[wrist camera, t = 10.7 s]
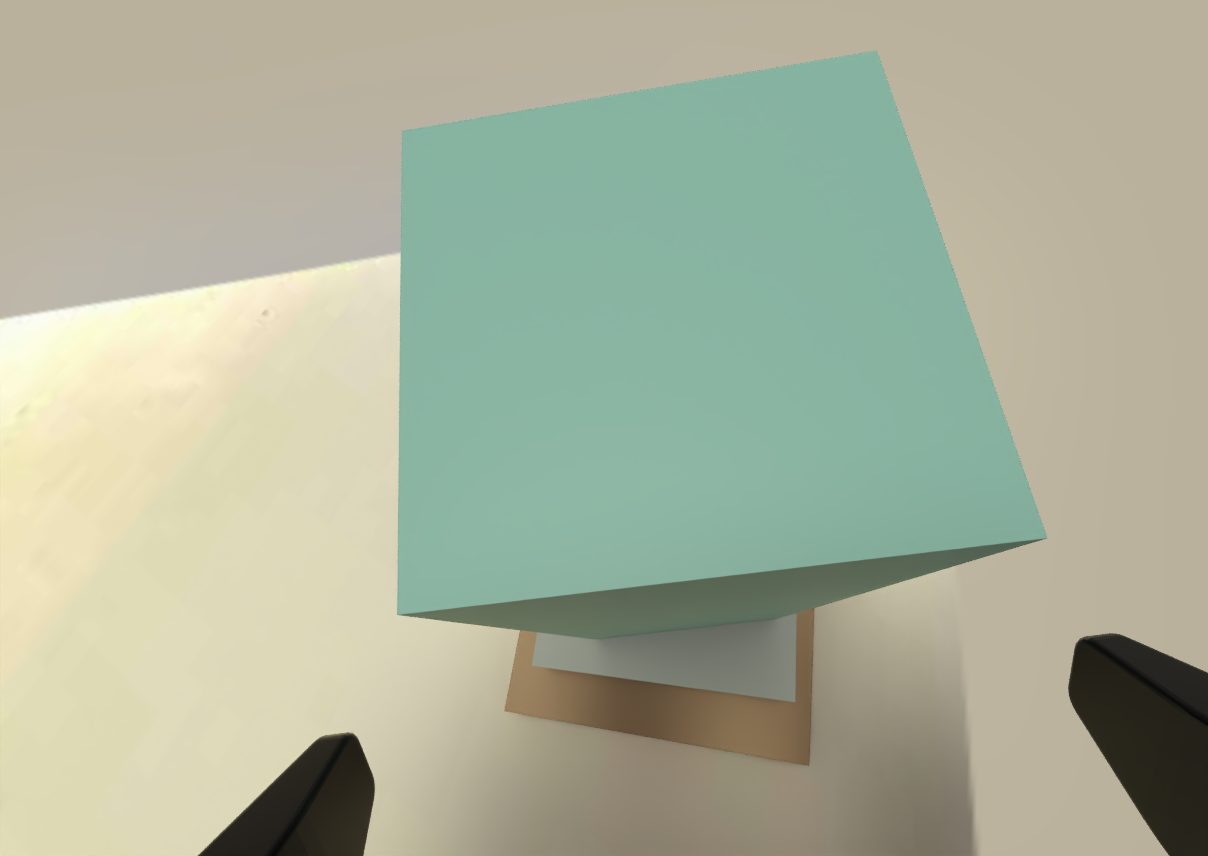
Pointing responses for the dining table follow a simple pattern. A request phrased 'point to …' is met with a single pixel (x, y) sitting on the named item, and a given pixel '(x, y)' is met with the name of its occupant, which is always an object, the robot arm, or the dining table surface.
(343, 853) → the robot arm
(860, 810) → the dining table surface
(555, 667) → the tower middle block
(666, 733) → the tower base block
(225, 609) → the dining table surface
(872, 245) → the tall teal block
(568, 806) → the dining table surface
